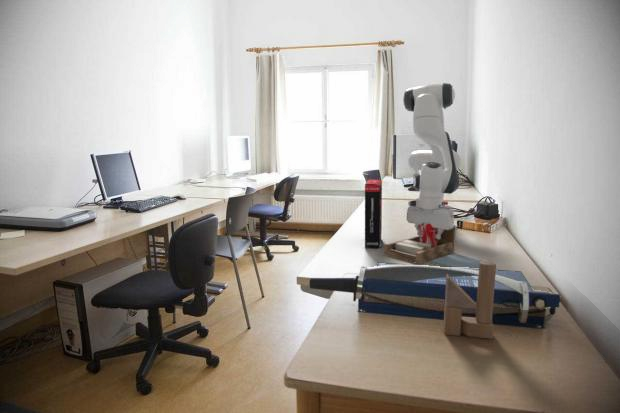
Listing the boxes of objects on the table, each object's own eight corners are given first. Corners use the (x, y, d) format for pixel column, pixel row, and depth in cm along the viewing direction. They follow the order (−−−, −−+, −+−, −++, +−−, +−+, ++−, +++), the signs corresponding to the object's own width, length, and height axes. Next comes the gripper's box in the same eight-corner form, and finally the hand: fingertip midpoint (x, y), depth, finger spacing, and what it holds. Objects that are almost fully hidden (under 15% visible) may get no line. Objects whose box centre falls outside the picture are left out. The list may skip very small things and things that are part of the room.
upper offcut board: (406, 245, 170) (406, 239, 170) (431, 250, 162) (431, 244, 162) (395, 249, 164) (395, 243, 164) (420, 255, 157) (420, 248, 156)
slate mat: (453, 255, 163) (453, 253, 163) (490, 264, 151) (490, 262, 151) (431, 263, 153) (431, 260, 153) (468, 273, 142) (468, 271, 142)
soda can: (416, 248, 173) (418, 220, 171) (433, 247, 174) (434, 219, 171) (422, 253, 166) (424, 223, 164) (440, 252, 167) (441, 223, 164)
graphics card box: (380, 249, 172) (381, 183, 167) (363, 248, 173) (364, 183, 168) (381, 239, 188) (383, 179, 184) (366, 238, 190) (367, 179, 185)
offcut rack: (420, 243, 180) (421, 219, 178) (453, 251, 168) (455, 225, 166) (384, 254, 164) (385, 227, 163) (418, 263, 152) (419, 234, 150)
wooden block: (443, 328, 102) (447, 258, 99) (489, 332, 100) (495, 260, 97) (444, 335, 99) (448, 262, 96) (492, 339, 97) (498, 265, 93)
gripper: (458, 205, 160) (456, 240, 163) (414, 199, 176) (412, 231, 178) (449, 207, 156) (447, 243, 159) (405, 201, 172) (403, 233, 174)
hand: (428, 236), depth 169 cm, fingers closed on soda can, 7 cm apart
